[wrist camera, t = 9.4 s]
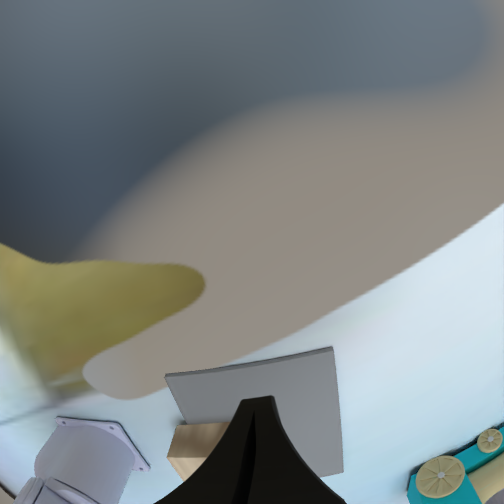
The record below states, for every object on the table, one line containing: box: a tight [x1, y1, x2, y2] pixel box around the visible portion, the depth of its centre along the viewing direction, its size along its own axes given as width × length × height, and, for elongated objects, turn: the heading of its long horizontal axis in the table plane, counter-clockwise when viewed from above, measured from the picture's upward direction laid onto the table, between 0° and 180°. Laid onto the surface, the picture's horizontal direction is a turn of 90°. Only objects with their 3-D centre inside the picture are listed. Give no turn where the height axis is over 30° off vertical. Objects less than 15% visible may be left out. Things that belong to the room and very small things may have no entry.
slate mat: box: [164, 347, 344, 478], centre depth 23 cm, size 13×17×1 cm
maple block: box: [167, 422, 230, 481], centre depth 21 cm, size 4×4×8 cm
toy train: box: [407, 427, 504, 504], centre depth 18 cm, size 8×17×15 cm, turn 106°
